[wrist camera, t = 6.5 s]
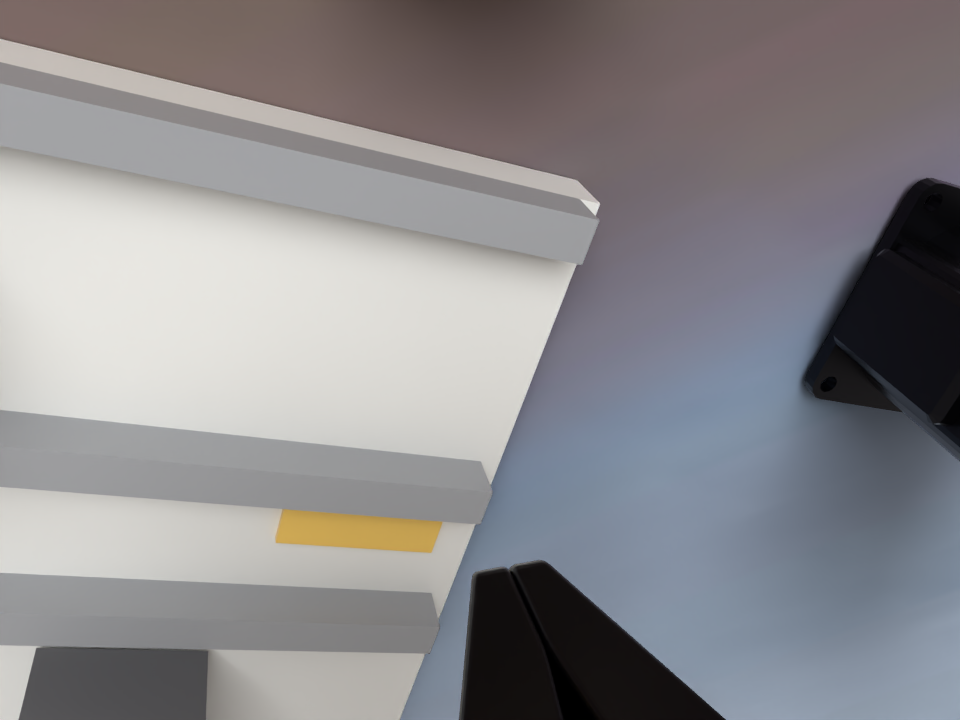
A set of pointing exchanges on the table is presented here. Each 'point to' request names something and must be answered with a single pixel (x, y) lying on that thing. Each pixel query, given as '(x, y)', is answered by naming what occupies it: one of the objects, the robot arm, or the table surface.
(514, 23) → the table surface
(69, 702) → the untagged breaker
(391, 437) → the breaker panel
